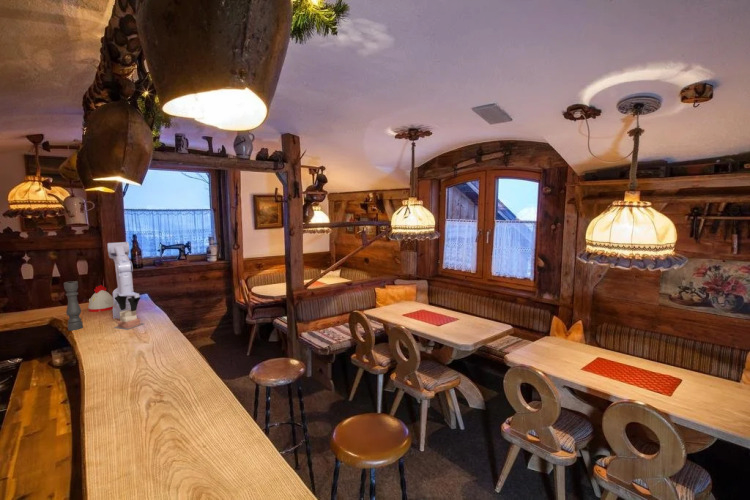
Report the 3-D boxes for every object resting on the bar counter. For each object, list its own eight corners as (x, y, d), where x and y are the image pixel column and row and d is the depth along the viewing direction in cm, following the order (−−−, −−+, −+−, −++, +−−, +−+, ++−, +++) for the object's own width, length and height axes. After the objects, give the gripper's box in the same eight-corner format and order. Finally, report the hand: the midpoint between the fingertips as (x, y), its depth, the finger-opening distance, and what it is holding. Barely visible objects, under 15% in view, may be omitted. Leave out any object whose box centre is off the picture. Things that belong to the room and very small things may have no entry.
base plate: (113, 330, 193) (113, 327, 193) (131, 324, 203) (131, 322, 203) (127, 332, 190) (127, 329, 190) (145, 326, 200) (145, 323, 200)
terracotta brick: (118, 327, 194) (117, 321, 194) (130, 323, 201) (130, 317, 200) (128, 328, 192) (127, 322, 192) (140, 324, 199) (139, 318, 198)
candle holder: (84, 328, 197) (79, 282, 194) (69, 331, 192) (63, 284, 189) (81, 326, 201) (77, 280, 198) (67, 328, 196) (62, 282, 193)
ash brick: (120, 321, 194) (119, 312, 193) (131, 318, 199) (130, 309, 199) (126, 322, 193) (125, 313, 192) (136, 319, 198) (136, 309, 198)
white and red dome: (82, 311, 229) (80, 287, 227) (101, 305, 242) (99, 282, 240) (102, 312, 227) (100, 288, 225) (121, 306, 240) (119, 283, 239)
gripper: (108, 285, 193) (111, 310, 194) (129, 287, 188) (131, 313, 190) (121, 282, 199) (123, 307, 201) (142, 284, 195) (144, 309, 196)
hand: (128, 310), depth 196 cm, fingers open, 7 cm apart
